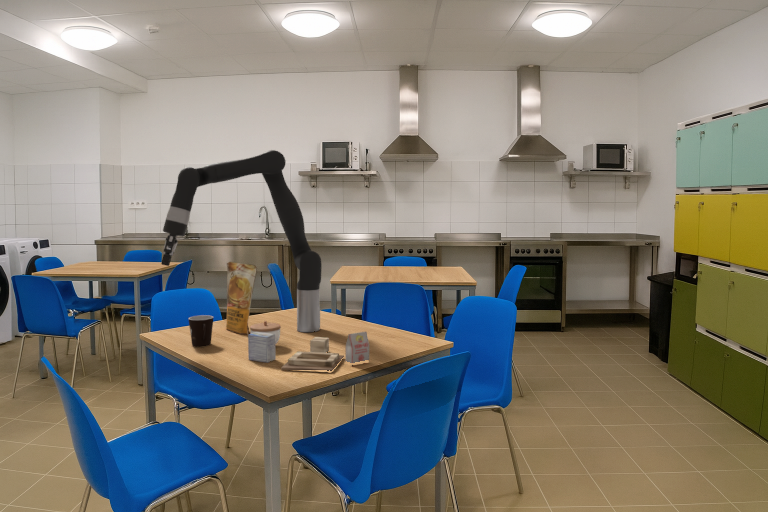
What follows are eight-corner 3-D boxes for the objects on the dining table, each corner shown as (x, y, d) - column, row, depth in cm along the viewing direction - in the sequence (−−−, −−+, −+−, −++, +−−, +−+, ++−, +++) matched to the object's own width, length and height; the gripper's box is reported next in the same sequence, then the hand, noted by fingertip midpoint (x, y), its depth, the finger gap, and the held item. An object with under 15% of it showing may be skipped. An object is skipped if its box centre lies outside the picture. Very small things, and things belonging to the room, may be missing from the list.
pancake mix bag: (234, 325, 212) (233, 260, 209) (259, 333, 199) (258, 264, 196) (220, 328, 207) (219, 261, 204) (244, 335, 194) (243, 265, 191)
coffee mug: (193, 341, 184) (192, 315, 183) (216, 341, 185) (216, 315, 184) (183, 350, 172) (182, 322, 172) (208, 349, 173) (207, 321, 172)
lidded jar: (271, 351, 171) (271, 325, 171) (244, 349, 175) (244, 323, 174) (286, 344, 182) (285, 319, 181) (260, 341, 185) (260, 317, 184)
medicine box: (276, 359, 162) (275, 333, 161) (267, 363, 158) (267, 336, 157) (256, 356, 165) (256, 331, 165) (248, 360, 161) (247, 334, 161)
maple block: (315, 351, 173) (315, 337, 173) (328, 352, 172) (329, 337, 172) (310, 354, 169) (310, 340, 168) (324, 355, 167) (324, 341, 167)
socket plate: (297, 356, 167) (297, 348, 166) (344, 358, 164) (344, 351, 164) (281, 370, 151) (281, 362, 151) (332, 373, 148) (332, 365, 148)
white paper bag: (345, 363, 159) (345, 333, 158) (362, 360, 163) (363, 330, 162) (351, 366, 156) (351, 335, 155) (369, 362, 160) (369, 332, 159)
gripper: (187, 222, 172) (175, 267, 170) (188, 225, 185) (176, 267, 183) (164, 216, 169) (152, 262, 167) (167, 220, 183) (155, 263, 181)
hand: (165, 265), depth 175 cm, fingers open, 8 cm apart
